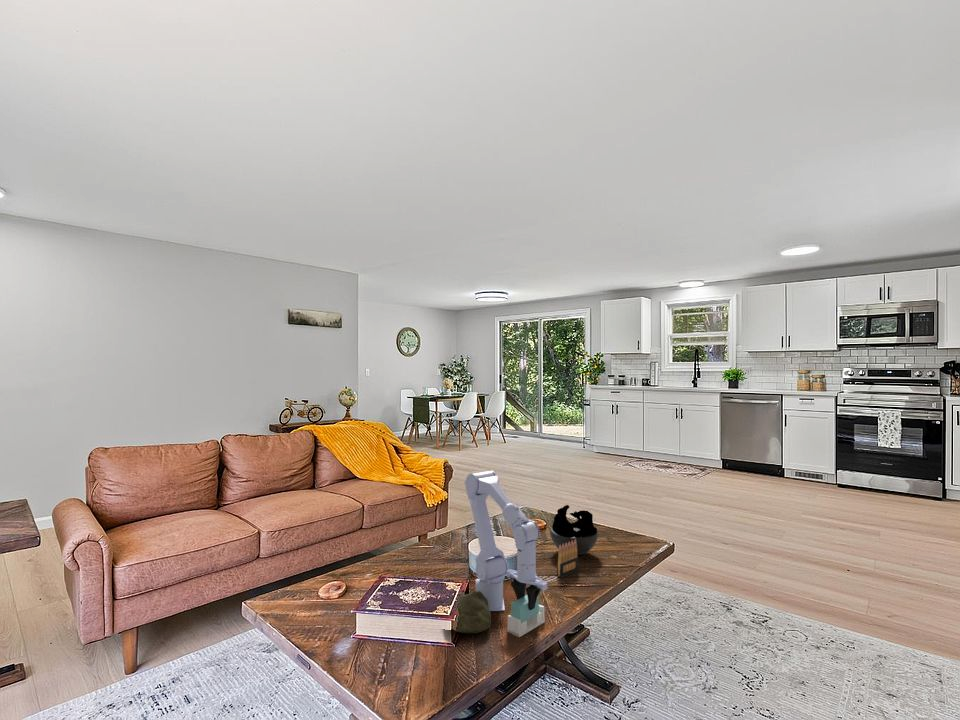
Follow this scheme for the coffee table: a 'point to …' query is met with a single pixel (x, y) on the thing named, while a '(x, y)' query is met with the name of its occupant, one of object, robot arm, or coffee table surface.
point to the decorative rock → (473, 613)
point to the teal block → (523, 609)
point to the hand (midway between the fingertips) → (526, 606)
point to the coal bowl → (574, 530)
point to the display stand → (525, 623)
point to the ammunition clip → (567, 559)
